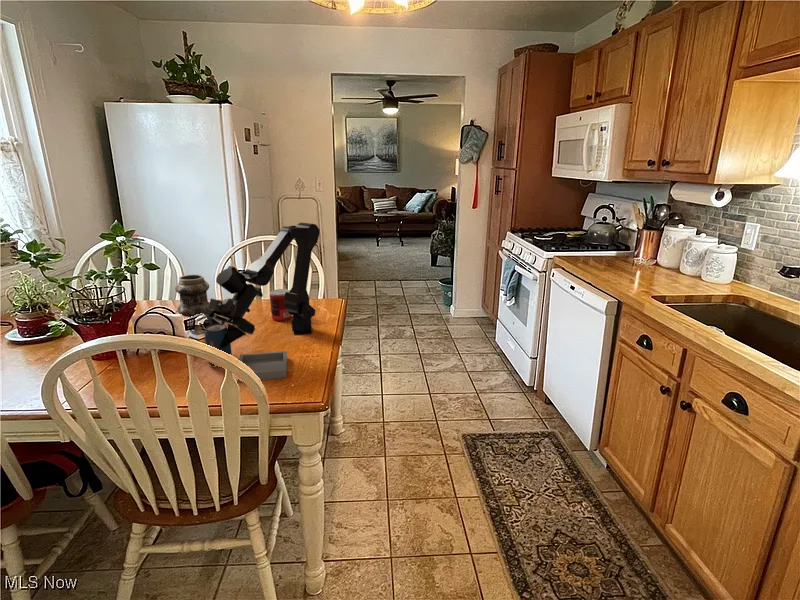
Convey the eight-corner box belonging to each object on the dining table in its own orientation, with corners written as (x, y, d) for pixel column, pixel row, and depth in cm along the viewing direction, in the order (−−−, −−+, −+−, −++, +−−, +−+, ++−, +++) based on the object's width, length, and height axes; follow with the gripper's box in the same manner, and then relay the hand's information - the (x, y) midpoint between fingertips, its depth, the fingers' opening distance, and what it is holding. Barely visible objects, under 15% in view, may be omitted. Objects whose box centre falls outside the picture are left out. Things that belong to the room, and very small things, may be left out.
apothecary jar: (217, 322, 174) (212, 277, 169) (184, 329, 167) (177, 282, 161) (208, 314, 183) (202, 271, 178) (175, 321, 176) (169, 276, 170)
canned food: (294, 315, 183) (292, 288, 180) (289, 321, 176) (287, 294, 172) (275, 314, 183) (273, 288, 180) (269, 321, 176) (267, 294, 172)
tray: (287, 358, 144) (286, 350, 143) (286, 378, 131) (285, 370, 130) (241, 361, 141) (240, 354, 140) (235, 382, 128) (234, 374, 127)
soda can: (231, 357, 144) (227, 321, 140) (234, 365, 138) (229, 328, 135) (207, 361, 141) (202, 325, 138) (209, 370, 135) (204, 332, 132)
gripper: (205, 282, 141) (176, 326, 136) (242, 293, 131) (212, 340, 125) (230, 301, 149) (203, 342, 144) (267, 311, 139) (239, 356, 134)
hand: (213, 345), depth 137 cm, fingers closed on soda can, 7 cm apart
